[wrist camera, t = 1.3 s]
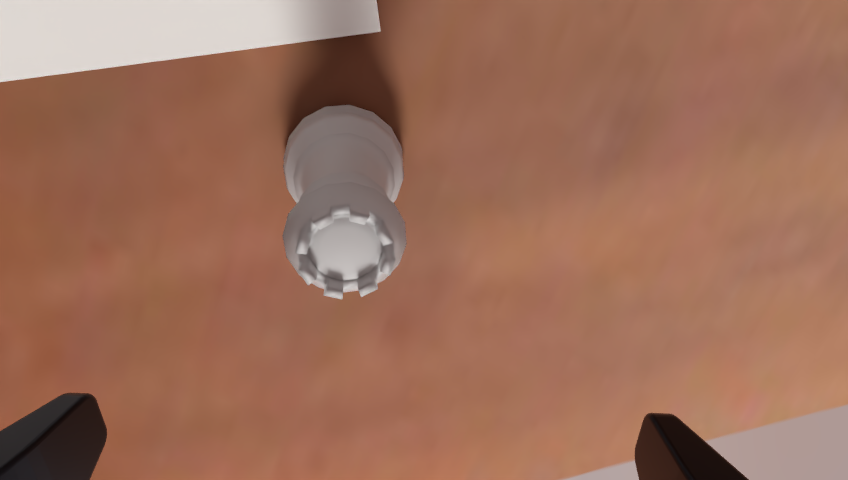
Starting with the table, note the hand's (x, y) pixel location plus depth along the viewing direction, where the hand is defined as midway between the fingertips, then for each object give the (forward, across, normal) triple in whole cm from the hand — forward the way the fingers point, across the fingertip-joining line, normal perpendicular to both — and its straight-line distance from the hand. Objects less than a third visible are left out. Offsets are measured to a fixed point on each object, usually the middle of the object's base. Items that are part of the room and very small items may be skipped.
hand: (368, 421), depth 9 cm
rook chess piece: (+13, +2, 0) cm, 14 cm away
